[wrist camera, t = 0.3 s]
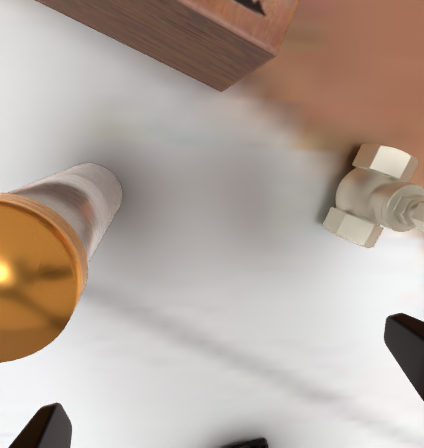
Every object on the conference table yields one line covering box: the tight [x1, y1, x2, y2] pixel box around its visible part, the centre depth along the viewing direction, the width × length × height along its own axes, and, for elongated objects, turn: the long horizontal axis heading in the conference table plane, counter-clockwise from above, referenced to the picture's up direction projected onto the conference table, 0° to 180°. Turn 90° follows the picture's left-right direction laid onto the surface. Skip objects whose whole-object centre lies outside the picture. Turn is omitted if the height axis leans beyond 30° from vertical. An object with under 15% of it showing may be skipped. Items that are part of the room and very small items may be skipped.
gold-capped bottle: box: [0, 163, 122, 363], centre depth 14 cm, size 5×5×13 cm
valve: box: [323, 143, 424, 248], centre depth 17 cm, size 7×7×12 cm
